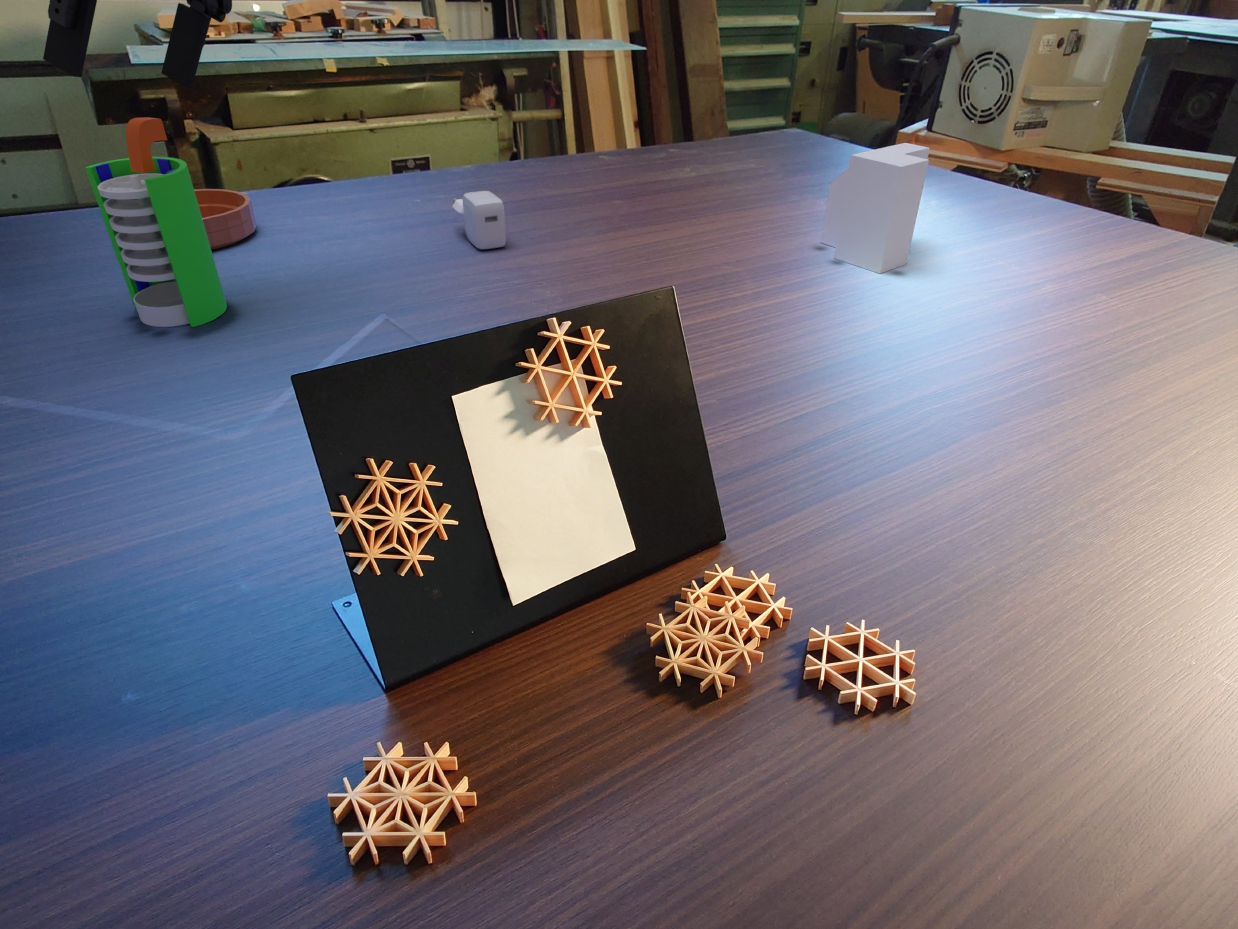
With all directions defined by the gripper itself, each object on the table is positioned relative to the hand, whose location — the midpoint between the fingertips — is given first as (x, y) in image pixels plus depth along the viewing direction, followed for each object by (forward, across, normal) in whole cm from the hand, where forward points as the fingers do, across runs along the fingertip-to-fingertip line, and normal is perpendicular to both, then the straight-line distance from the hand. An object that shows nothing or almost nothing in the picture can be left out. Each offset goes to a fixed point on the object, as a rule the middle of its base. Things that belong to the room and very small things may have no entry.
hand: (124, 75), depth 70 cm
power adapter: (+5, +32, -26) cm, 42 cm away
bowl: (+21, +26, +5) cm, 34 cm away
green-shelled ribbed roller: (+20, +4, -8) cm, 22 cm away
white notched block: (-16, +37, -69) cm, 80 cm away
